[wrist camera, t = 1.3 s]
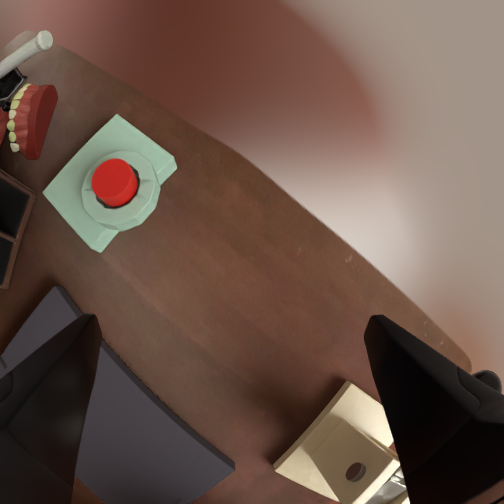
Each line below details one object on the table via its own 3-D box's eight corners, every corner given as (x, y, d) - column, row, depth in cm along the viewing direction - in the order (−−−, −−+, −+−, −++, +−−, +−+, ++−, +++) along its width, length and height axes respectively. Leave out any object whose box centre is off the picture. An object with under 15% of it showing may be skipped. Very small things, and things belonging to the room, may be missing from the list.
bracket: (346, 380, 23) (408, 411, 14) (400, 419, 23) (465, 452, 13) (272, 464, 21) (296, 531, 12) (334, 496, 21) (374, 552, 11)
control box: (194, 181, 25) (189, 160, 21) (116, 269, 23) (98, 261, 19) (122, 125, 26) (111, 102, 22) (52, 200, 24) (32, 185, 20)
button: (145, 183, 21) (140, 173, 20) (117, 215, 21) (108, 207, 19) (120, 161, 21) (113, 150, 20) (92, 190, 21) (83, 182, 19)
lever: (476, 355, 14) (499, 373, 11) (493, 375, 14) (515, 393, 11) (349, 474, 16) (354, 503, 13) (374, 486, 16) (380, 513, 13)
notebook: (234, 462, 21) (63, 286, 23) (235, 470, 19) (54, 284, 21) (147, 523, 19) (-1, 368, 20) (144, 531, 17) (-10, 370, 19)
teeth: (-23, 92, 19) (49, 61, 20) (1, 116, 25) (71, 95, 26) (-48, 155, 18) (22, 130, 18) (-17, 174, 24) (53, 158, 25)
